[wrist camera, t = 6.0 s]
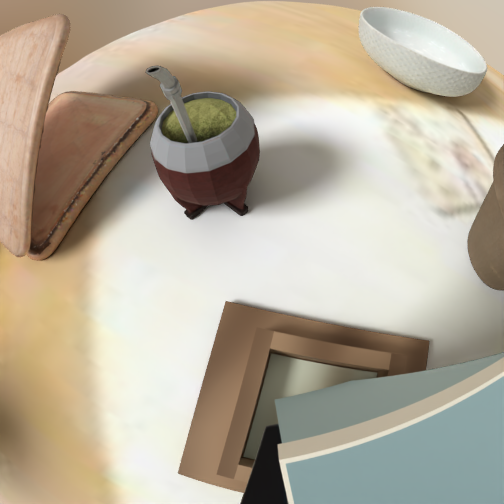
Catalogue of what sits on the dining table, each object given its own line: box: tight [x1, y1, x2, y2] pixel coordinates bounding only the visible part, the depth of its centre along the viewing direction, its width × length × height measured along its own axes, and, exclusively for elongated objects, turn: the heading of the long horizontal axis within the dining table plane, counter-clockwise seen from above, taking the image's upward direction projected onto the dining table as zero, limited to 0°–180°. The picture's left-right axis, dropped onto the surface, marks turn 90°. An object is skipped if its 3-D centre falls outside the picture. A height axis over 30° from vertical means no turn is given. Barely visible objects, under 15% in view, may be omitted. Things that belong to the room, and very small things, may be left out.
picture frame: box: [178, 301, 429, 493], centre depth 16 cm, size 14×12×2 cm
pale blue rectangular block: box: [275, 352, 504, 504], centre depth 7 cm, size 4×4×13 cm
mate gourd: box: [146, 66, 260, 219], centre depth 17 cm, size 8×8×15 cm
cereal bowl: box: [359, 7, 487, 97], centre depth 27 cm, size 17×17×7 cm
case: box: [0, 14, 158, 260], centre depth 21 cm, size 20×21×16 cm
